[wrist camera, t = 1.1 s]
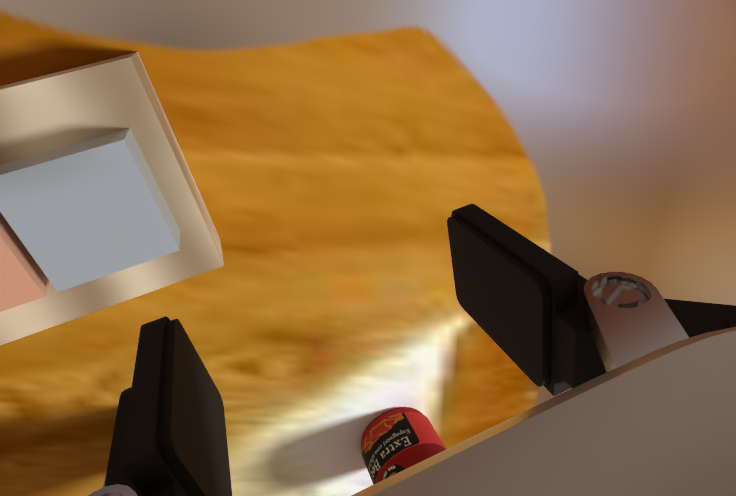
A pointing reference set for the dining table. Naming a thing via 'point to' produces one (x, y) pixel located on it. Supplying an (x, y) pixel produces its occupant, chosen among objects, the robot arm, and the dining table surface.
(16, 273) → the tile terracotta
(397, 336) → the dining table surface
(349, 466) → the dining table surface
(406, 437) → the canned food
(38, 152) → the birch plate
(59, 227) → the tile slate
